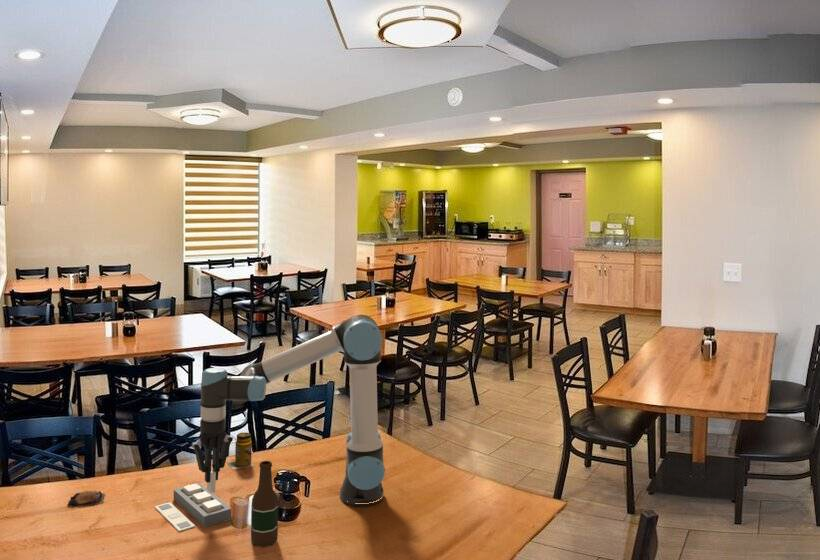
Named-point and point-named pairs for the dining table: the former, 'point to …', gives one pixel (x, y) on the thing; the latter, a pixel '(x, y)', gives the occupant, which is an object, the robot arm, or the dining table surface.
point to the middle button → (201, 497)
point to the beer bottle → (264, 509)
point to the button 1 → (191, 489)
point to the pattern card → (175, 516)
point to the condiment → (242, 452)
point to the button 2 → (211, 506)
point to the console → (197, 511)
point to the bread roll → (86, 498)
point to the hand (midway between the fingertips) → (211, 491)
